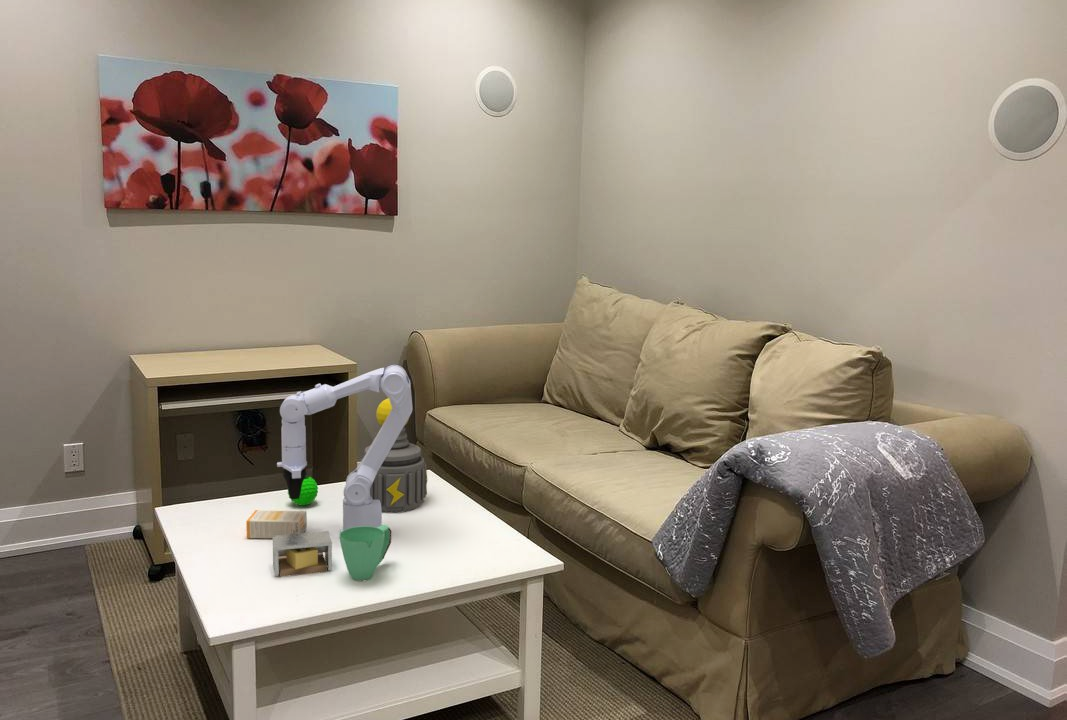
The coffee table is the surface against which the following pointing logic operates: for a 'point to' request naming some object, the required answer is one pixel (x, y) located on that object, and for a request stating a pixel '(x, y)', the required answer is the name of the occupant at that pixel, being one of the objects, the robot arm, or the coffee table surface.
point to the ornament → (307, 491)
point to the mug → (364, 549)
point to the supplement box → (275, 523)
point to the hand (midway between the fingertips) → (294, 498)
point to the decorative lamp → (399, 472)
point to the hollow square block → (302, 557)
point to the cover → (302, 545)
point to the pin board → (289, 570)
